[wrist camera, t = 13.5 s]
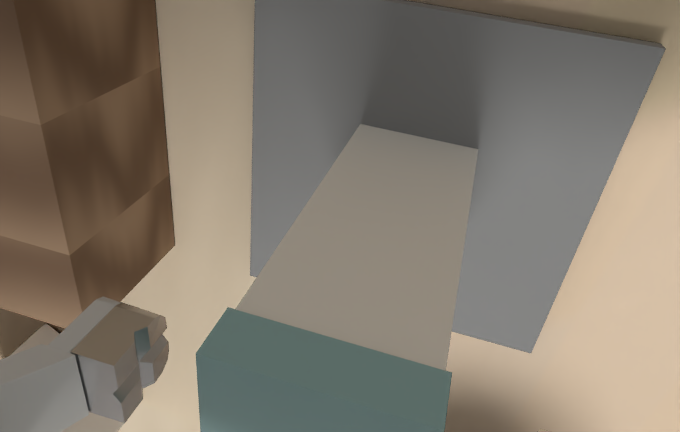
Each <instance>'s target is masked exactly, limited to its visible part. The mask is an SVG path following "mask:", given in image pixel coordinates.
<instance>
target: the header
mask: <svg viewBox="0 0 680 432" xmlns="http://www.w3.org/2000/svg"><path fill="white" fill-rule="evenodd" d="M174 246H175V242H174V229H173V217H172V205H171V193H170V180H169V168H168V156H167V144H166V131H165V119H164V107H163V95H162V82H161V70H160V58H159V45H158V33H157V21H156V9H155V0H0V308H2V309H5V310H8V311H11V312H14V313H18V314H21V315H24V316H27V317H30V318H33V319H37V320H40V321H43V322H46V323H49V324H52V325H55V326H59V327H62V328H66V327H67V326H68V325H70V324H71V323H72V322H73V321H74V320H75V319H76V318H77V317H78V316H79V315H80V314H81V313H82V312H83V311H84V310H85V309H86V308H87V307H88V306H89V305H90V304H91V303H93V302H94V301H95V300H96V299H99V298H101V297H106V298H109V299H112V300H115V301H119V302H120V301H121V300H122V299H123V298H124V297H125V296H126V295H127V294H128V293H129V292H130V291H131V290H132V289H133V288H134V287H135V286H136V285H137V284H138V283H139V282H140V281H141V280H142V279H143V278H144V277H145V276H146V275H147V273H148V272H149V271H150V270H151V269H152V268H153V267H154V266H155V265H156V264H157V263H158V262H159V261H160V260H161V259H162V258H163V257H164V256H165V255H166V254H167V253H168V252H169V251H170V250H171V249H172V248H173V247H174Z"/></svg>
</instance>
